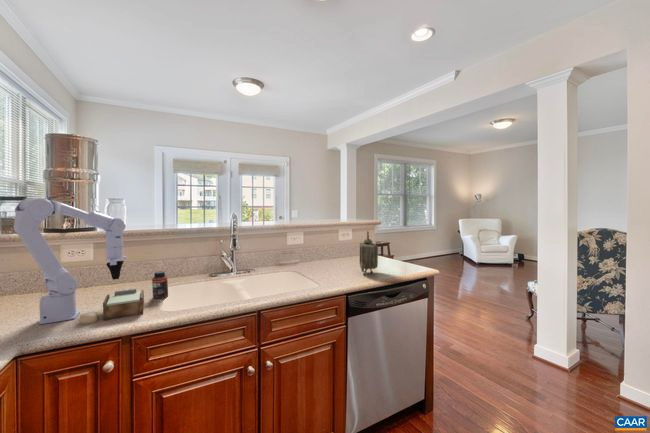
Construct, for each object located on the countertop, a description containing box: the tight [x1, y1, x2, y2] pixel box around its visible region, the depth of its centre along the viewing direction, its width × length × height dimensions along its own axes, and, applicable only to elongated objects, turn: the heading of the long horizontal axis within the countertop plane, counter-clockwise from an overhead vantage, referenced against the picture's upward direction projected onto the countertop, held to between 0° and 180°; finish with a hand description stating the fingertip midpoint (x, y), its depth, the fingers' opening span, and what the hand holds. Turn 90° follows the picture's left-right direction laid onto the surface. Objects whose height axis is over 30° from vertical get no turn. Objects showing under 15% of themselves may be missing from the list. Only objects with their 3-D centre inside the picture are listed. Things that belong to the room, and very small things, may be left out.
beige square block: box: [79, 311, 99, 326], centre depth 102 cm, size 5×5×3 cm
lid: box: [107, 288, 142, 306], centre depth 111 cm, size 10×11×2 cm
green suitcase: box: [359, 230, 379, 277], centre depth 169 cm, size 14×9×25 cm, turn 178°
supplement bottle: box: [151, 270, 169, 300], centre depth 128 cm, size 6×6×11 cm
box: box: [102, 289, 145, 321], centre depth 111 cm, size 12×11×6 cm
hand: (115, 278), depth 121 cm, fingers closed
